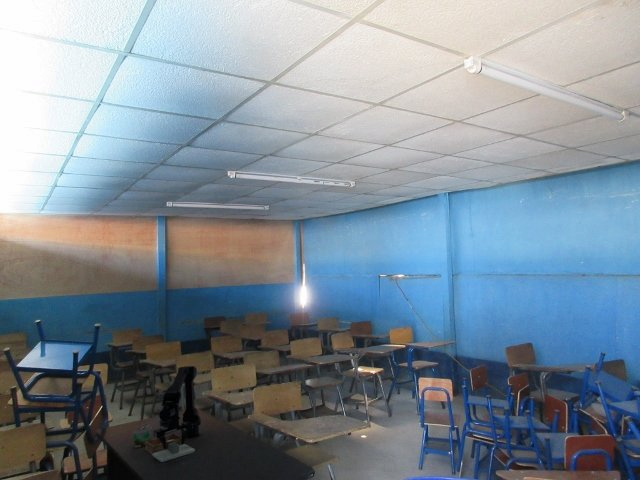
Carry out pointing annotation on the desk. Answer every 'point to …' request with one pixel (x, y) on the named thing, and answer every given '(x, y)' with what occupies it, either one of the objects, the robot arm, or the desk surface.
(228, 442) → the desk surface
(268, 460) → the desk surface
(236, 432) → the desk surface
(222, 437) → the desk surface
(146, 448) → the crate
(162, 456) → the lid
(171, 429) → the robot arm
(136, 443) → the food container
